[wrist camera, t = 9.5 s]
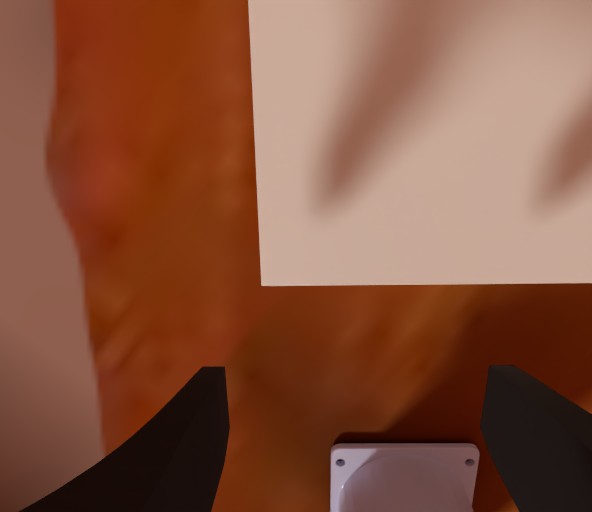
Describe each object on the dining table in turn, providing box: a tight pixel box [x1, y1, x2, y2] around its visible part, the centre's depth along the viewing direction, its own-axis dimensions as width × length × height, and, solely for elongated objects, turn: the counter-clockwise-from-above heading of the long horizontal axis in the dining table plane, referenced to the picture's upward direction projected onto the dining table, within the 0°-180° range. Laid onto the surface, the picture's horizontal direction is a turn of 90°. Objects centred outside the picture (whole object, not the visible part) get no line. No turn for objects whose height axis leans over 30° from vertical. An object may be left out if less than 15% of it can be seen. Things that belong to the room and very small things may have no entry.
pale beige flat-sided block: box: [248, 0, 592, 286], centre depth 17 cm, size 10×22×4 cm, turn 91°
